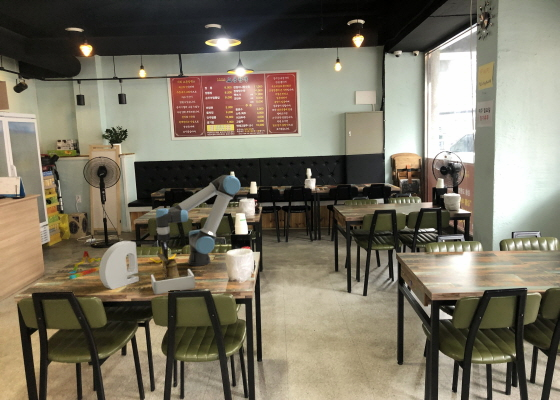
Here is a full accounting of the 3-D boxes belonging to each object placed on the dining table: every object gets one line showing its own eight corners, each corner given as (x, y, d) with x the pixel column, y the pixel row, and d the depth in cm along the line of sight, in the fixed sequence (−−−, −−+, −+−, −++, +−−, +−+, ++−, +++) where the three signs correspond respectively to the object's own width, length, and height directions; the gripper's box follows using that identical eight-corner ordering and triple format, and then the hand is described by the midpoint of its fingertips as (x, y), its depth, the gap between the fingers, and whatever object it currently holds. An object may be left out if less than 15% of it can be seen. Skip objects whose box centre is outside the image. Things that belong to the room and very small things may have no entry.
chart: (108, 265, 295) (106, 244, 293) (111, 266, 294) (109, 245, 292) (69, 278, 269) (66, 255, 267) (72, 279, 267) (69, 256, 265)
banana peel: (176, 258, 308) (175, 235, 306) (169, 265, 289) (167, 241, 287) (154, 258, 308) (152, 236, 306) (145, 266, 290) (143, 242, 287)
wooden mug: (155, 280, 257) (153, 252, 255) (172, 274, 268) (170, 246, 266) (165, 283, 252) (163, 253, 250) (182, 276, 263) (180, 248, 261)
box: (190, 280, 256) (189, 269, 255) (195, 287, 242) (194, 276, 241) (151, 286, 247) (150, 274, 246) (154, 294, 233) (153, 282, 232)
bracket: (139, 281, 258) (135, 240, 255) (107, 291, 242) (103, 248, 239) (132, 279, 263) (129, 239, 259) (100, 288, 246) (96, 246, 243)
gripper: (156, 232, 270) (159, 267, 274) (158, 235, 258) (161, 273, 262) (168, 230, 273) (170, 266, 276) (171, 234, 261) (173, 271, 264)
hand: (166, 269), depth 269 cm, fingers closed
